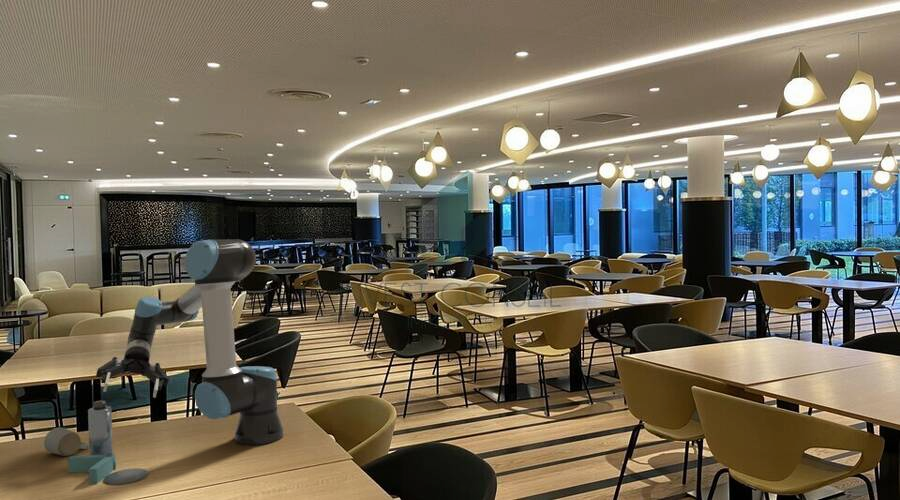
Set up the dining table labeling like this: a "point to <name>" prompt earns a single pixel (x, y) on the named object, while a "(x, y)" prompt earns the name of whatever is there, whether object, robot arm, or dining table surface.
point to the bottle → (100, 429)
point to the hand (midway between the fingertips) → (130, 390)
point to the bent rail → (93, 466)
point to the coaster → (126, 476)
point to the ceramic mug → (63, 442)
